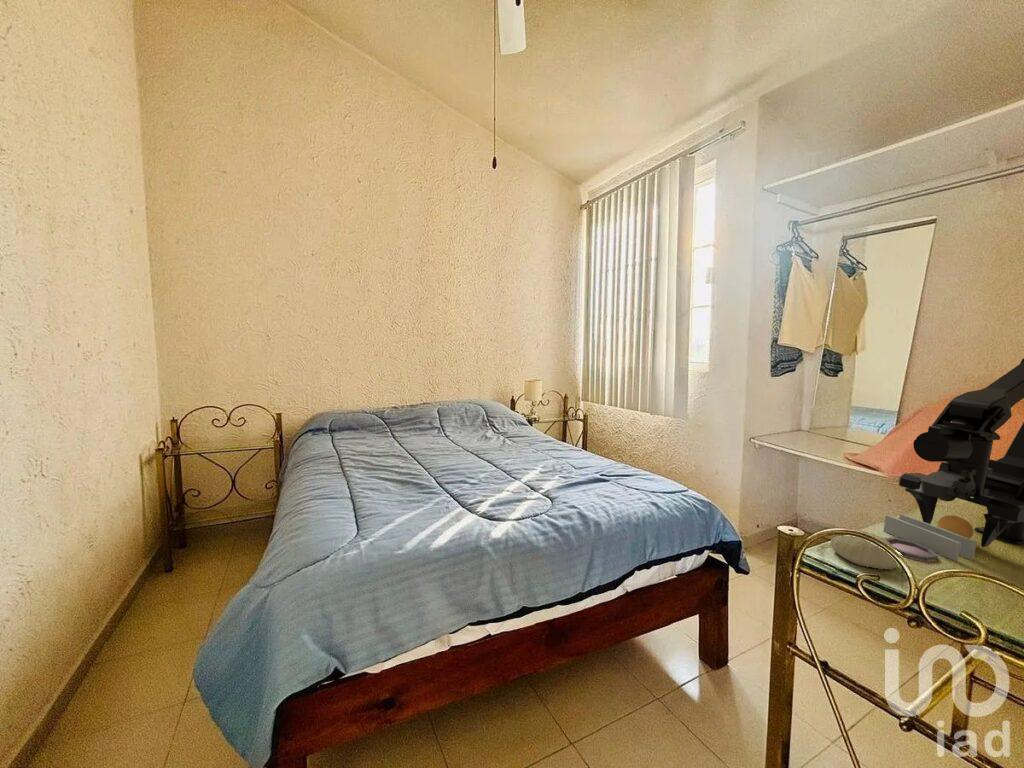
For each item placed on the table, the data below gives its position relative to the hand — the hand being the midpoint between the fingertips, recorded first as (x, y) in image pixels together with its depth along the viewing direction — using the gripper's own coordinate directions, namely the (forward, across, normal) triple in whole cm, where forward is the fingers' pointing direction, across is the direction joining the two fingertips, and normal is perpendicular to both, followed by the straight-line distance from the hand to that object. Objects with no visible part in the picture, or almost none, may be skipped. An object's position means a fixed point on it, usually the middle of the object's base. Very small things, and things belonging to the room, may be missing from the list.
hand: (954, 535), depth 85 cm
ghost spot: (+1, +2, -16) cm, 16 cm away
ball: (-2, 0, 0) cm, 2 cm away
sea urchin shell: (+1, +3, -28) cm, 28 cm away
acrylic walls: (+1, 0, -8) cm, 9 cm away
